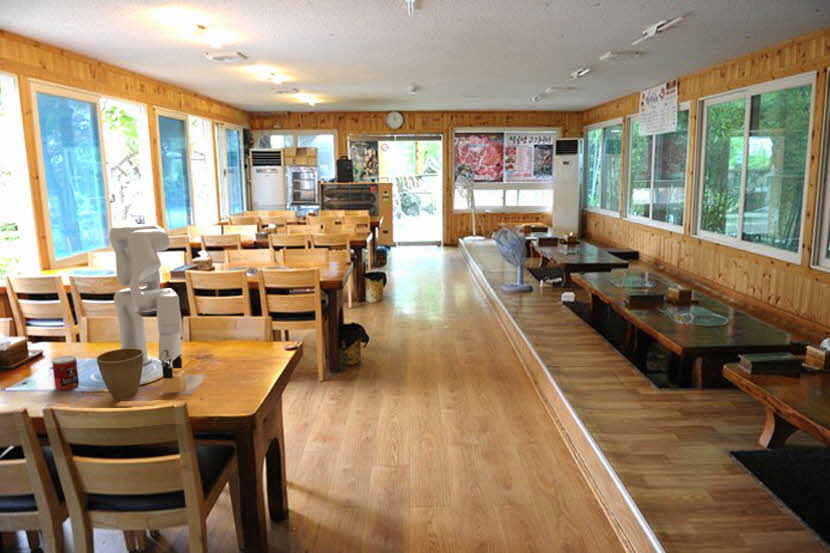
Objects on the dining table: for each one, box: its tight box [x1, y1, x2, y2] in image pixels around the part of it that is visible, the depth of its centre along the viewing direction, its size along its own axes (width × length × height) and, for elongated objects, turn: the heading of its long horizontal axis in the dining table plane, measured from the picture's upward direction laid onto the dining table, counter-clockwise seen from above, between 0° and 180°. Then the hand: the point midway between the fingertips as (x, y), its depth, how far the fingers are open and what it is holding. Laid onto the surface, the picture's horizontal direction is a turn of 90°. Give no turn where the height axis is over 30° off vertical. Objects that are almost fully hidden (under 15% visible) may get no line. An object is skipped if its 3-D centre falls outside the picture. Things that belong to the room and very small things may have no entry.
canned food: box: [51, 355, 80, 392], centre depth 220 cm, size 8×8×11 cm
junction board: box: [157, 374, 208, 396], centre depth 219 cm, size 12×20×6 cm, turn 3°
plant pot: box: [95, 348, 144, 402], centre depth 209 cm, size 15×15×16 cm
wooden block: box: [161, 370, 186, 393], centre depth 213 cm, size 6×6×6 cm
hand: (172, 373), depth 213 cm, fingers open, 9 cm apart
